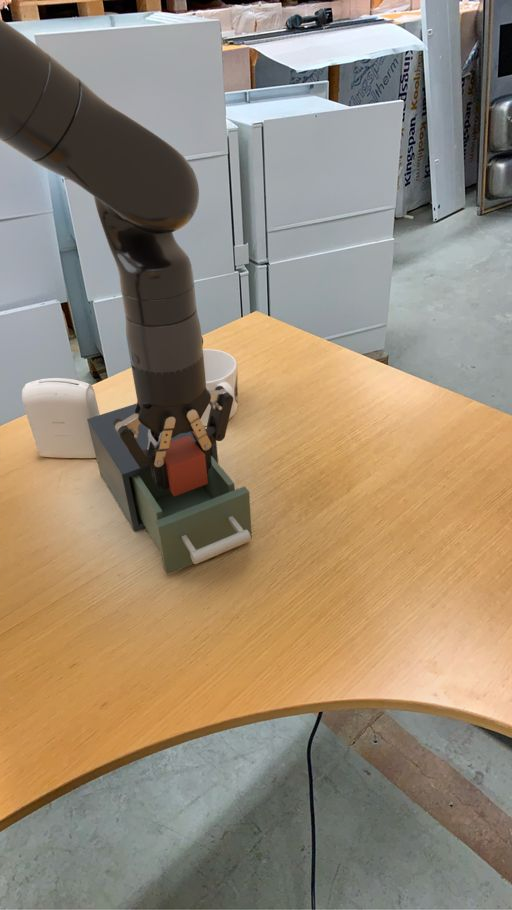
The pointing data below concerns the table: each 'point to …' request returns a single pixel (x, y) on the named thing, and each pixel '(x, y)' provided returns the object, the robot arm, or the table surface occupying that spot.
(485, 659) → the table surface
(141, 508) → the drawer
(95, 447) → the cabinet
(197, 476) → the block
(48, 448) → the photo printer
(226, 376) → the mug
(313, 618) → the table surface
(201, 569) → the table surface
